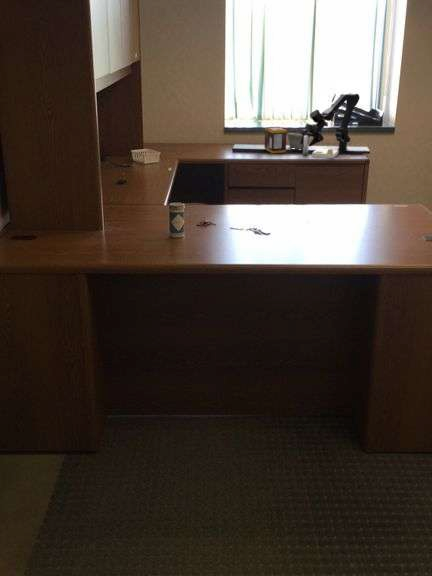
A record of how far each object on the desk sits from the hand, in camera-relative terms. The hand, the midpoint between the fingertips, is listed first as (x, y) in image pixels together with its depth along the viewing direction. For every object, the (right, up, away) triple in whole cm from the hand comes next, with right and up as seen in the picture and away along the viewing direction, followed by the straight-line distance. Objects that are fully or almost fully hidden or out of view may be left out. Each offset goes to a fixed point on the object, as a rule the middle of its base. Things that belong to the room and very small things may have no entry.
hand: (304, 145), depth 428 cm
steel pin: (+1, -6, +3) cm, 7 cm away
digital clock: (-2, +3, +24) cm, 24 cm away
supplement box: (-19, 0, +18) cm, 26 cm away
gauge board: (+15, -6, +4) cm, 16 cm away
